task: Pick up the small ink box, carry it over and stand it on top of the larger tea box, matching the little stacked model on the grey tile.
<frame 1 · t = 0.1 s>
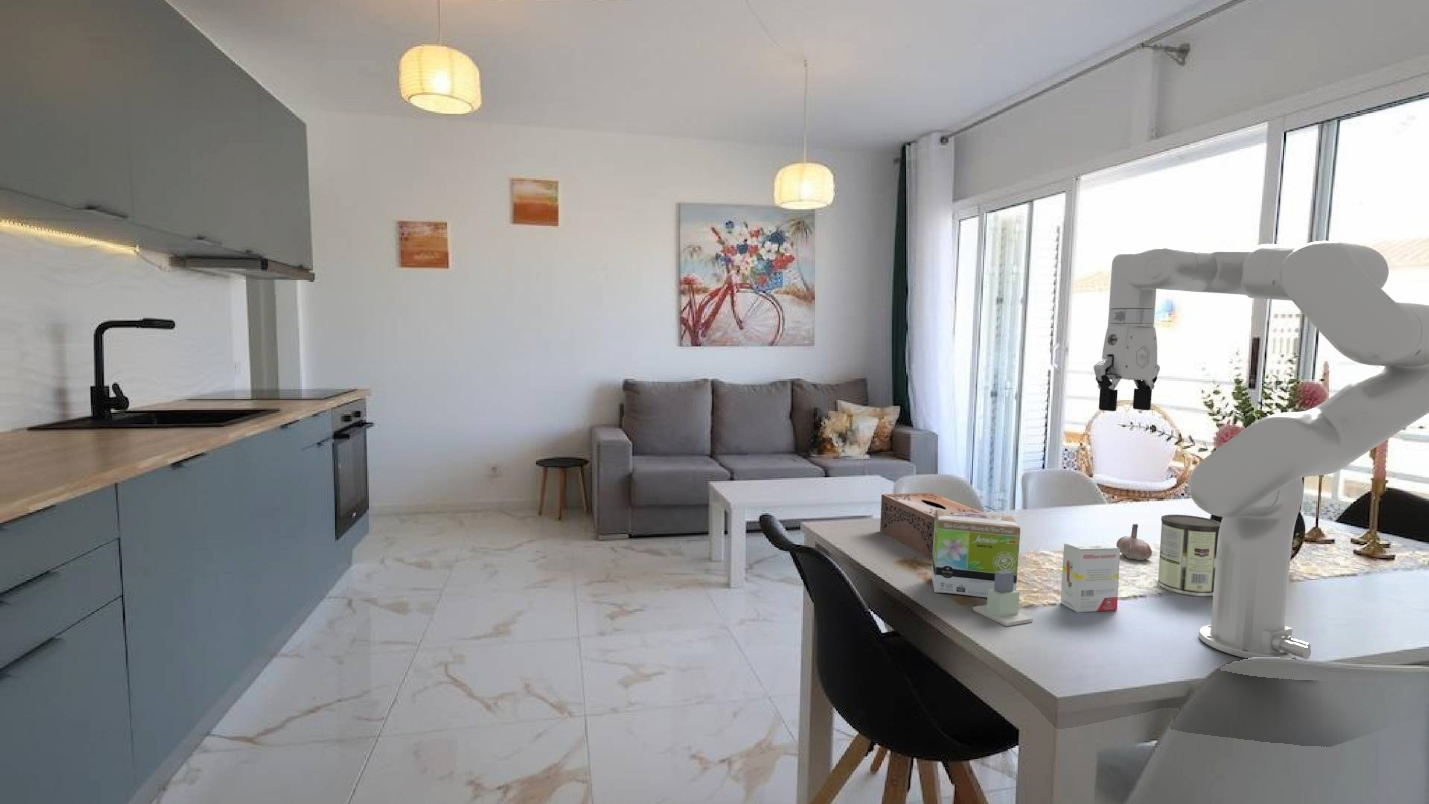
hand: (1124, 410, 135), 37 cm above the table, tool pointing down, fingers open, 9 cm apart
ink box: (1088, 608, 133), on the table
tea box: (971, 590, 141), on the table
garlic bulb: (1133, 558, 166), on the table
tissue box cover: (931, 545, 175), on the table
coffee can: (1186, 589, 145), on the table
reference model: (1002, 615, 127), on the table
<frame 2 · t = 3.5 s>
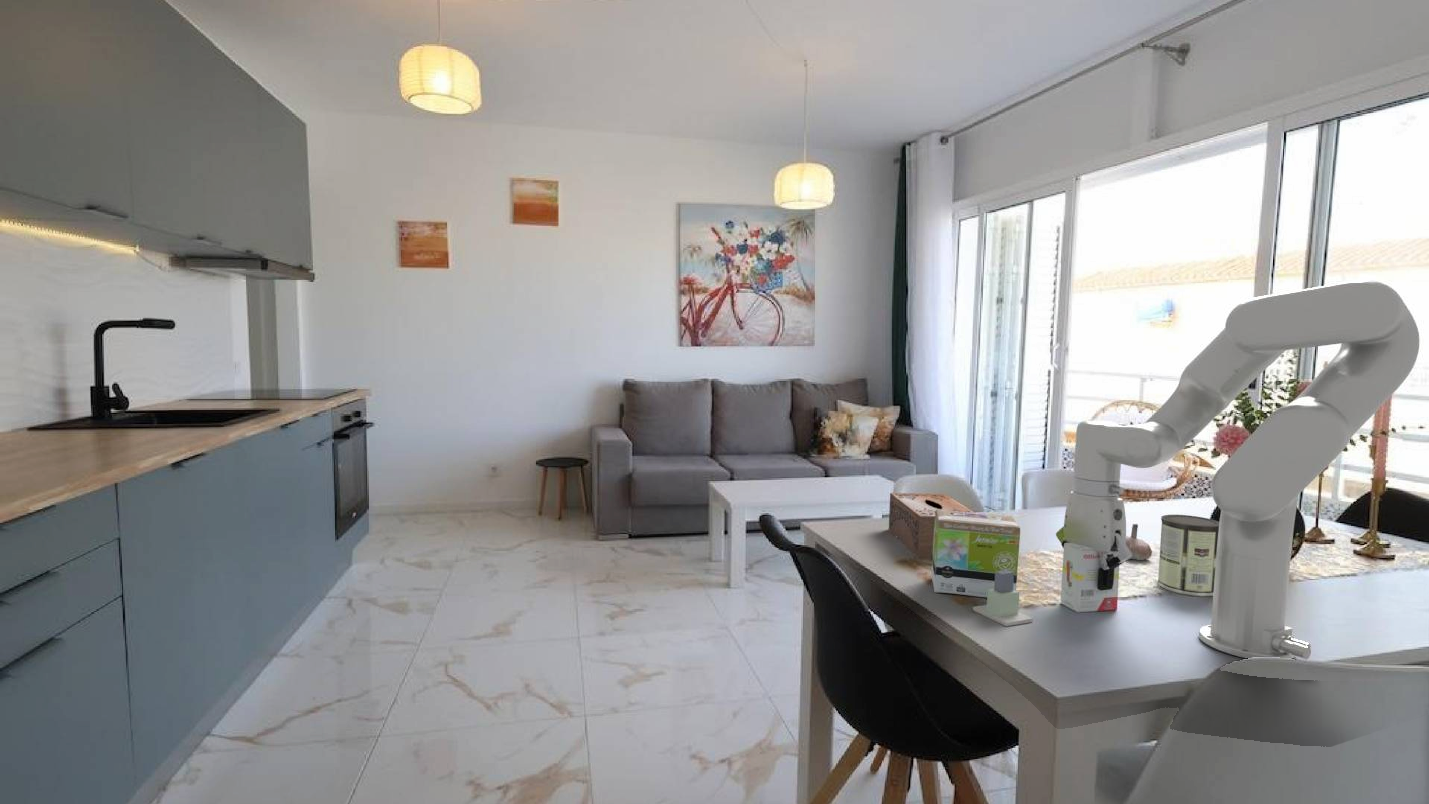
hand: (1089, 582, 133), 5 cm above the table, tool pointing down, fingers closed on ink box, 5 cm apart
ink box: (1088, 607, 133), on the table, touching gripper
when the fingers open (21 cm above the table, at t = 9.0 s): ink box drops 2 cm, resting on tea box.
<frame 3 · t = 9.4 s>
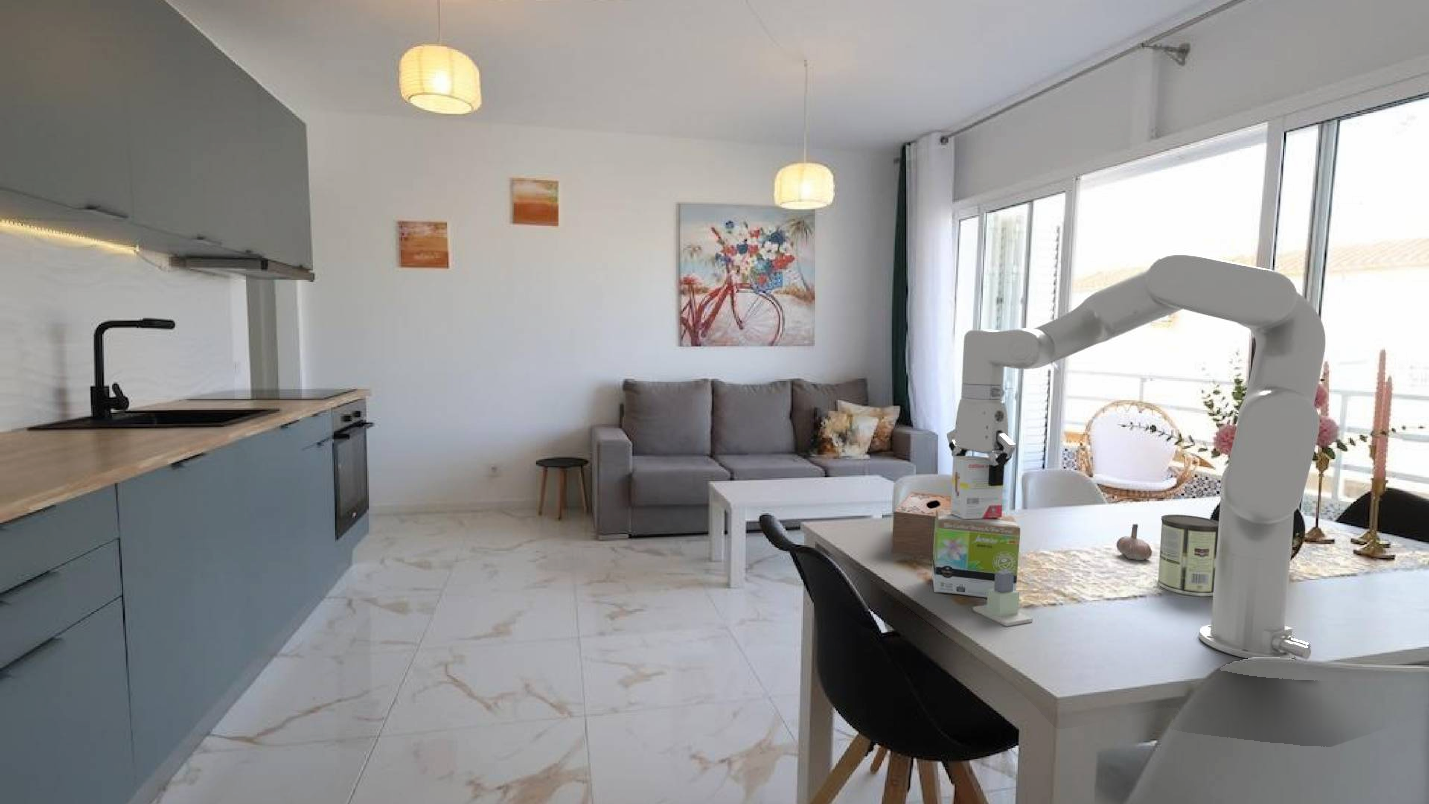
hand: (977, 480, 140), 22 cm above the table, tool pointing down, fingers open, 9 cm apart
ink box: (975, 517, 140), point 15 cm above the table, touching tea box
tea box: (971, 590, 141), on the table, touching ink box
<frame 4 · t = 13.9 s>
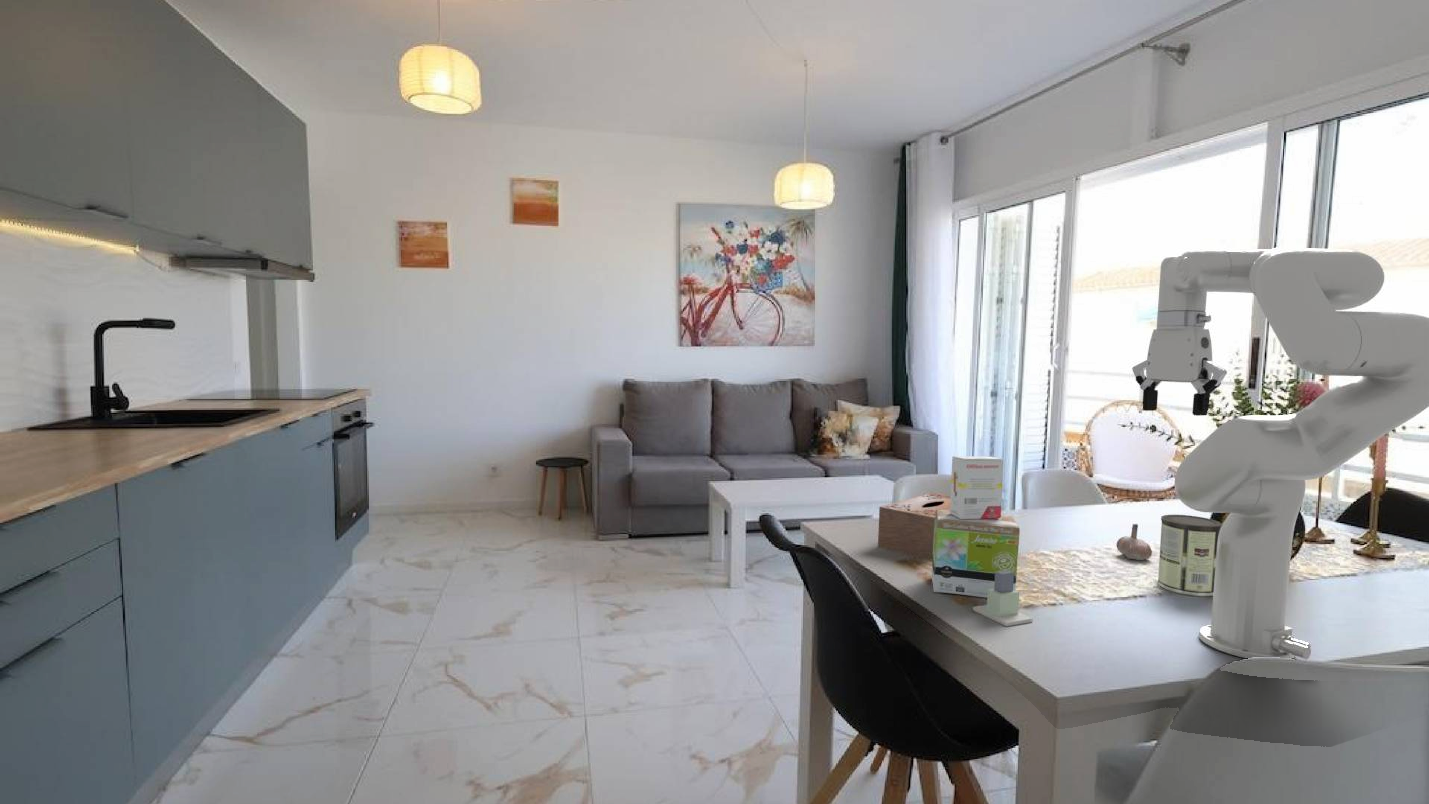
hand: (1173, 412, 135), 36 cm above the table, tool pointing down, fingers open, 9 cm apart
at the end: ink box inside the target area on the tea box (0.2 cm from its centre), point 14.8 cm above the tea box's base; ink box tilted 0°; the gripper is holding nothing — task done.
